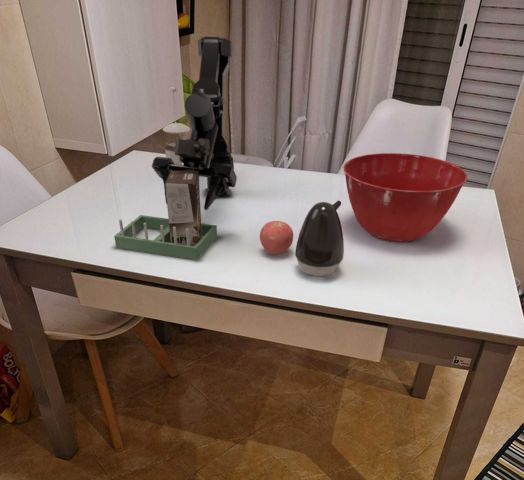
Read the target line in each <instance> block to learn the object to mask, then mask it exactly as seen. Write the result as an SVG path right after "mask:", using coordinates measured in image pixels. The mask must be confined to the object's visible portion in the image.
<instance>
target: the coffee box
mask: <svg viewBox="0 0 524 480" xmlns="http://www.w3.org/2000/svg"><path fill="white" fill-rule="evenodd" d="M165 184H166V197H167V204H166V207H167V219H169V230H170V240H171V243H174V234H173V227H176V236H177V244H182V245H187V239H186V229H189V242H190V246H195V245H196V244H197V243H198V242H199V241H200V240H201V239H202V237H203V236H202V210H201V209H202V207H201V194H200V193H201V192H200V176H199V171H171V172H170V174H169V176H168V179H167V181H166V183H165Z"/></svg>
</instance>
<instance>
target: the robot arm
mask: <svg viewBox="0 0 524 480" xmlns="http://www.w3.org/2000/svg"><path fill="white" fill-rule="evenodd" d="M197 57H199V58H200V67H199V77H198V80H197V81H196V82H194V84H193V85H192V86H191V87H192V88H191V94H190V95H188V96H187V98H186V99H185V101H184V108H185V112H186V116H187V120H188V123H189V128H190V129H191V131H190V136H189V138H187V140H186V139H183V138H182V139H181V138H176V139H175V140H176V145H175V155H179V156H180V158H179V160H180V161H181V162H183V163H184V164H183V163H182V165H175V164H174V162H173V161H172V159H171V158H167V157H166V156H156V157H154V158H153V160H152V163H151V168H152V170H154V172H155V173H156V175H157V176H158V177H159V178H160V179H161V180H162V182H163V189H164V197H165V204H166V205H167V197H166V184H165V183H166V181H167V179H168V176H169V174H170V172H171V171H199V177H202V178H206V188H205V189H204V191H205V195H206V197H205V199H204V206H203V209H204V210H205V211H208V209H209V208H210V207H211V206H212V205H213V203H214V202H215V201H216V200H217V199H218V198H229V197H231V194H230V191H229V190H230V188H235V187H236V185H237V181H238V179H237V178H238V176H237V174H236V172H235V165H234V157H233V156H232V152H231V151H230V147H229V145H228V143H227V141H226V138H225V137H224V110H225V108H226V101H225V99H224V97H225V96H224V95H225V94H224V93H225V90H224V89H225V76H226V75H227V73H228V71H229V69H230V67H231V59H233V42H232V40H230V39H228V37H223V36H221V37H220V36H216V35H215V36H213V35H204V36H202V37H201V38H199V39H197Z"/></svg>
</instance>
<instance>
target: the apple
mask: <svg viewBox="0 0 524 480" xmlns="http://www.w3.org/2000/svg"><path fill="white" fill-rule="evenodd" d="M259 241H260V244H261V246H262V247H263V249H264V250H265V251H266V252H267V253H269V254H271V255H276V256H278V255H283V254H285V252H287V251H288V250H289V248H291V246H292V244H293V242H294V230H293V229H292V226H290V224H288V223H287V222H285V221H281V220H271V221H268V222H266V223H265V224H264V225H262V228H261V229H260V231H259Z"/></svg>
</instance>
